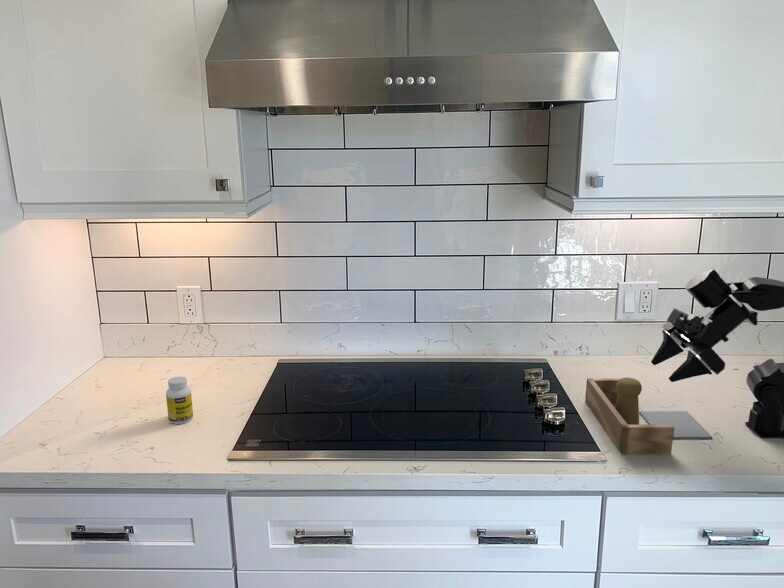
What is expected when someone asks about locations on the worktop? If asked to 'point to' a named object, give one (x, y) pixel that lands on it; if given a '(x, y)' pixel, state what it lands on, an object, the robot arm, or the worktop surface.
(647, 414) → the grey mat
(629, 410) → the olive game pawn
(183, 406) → the supplement bottle
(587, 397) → the walnut u-shaped bracket
